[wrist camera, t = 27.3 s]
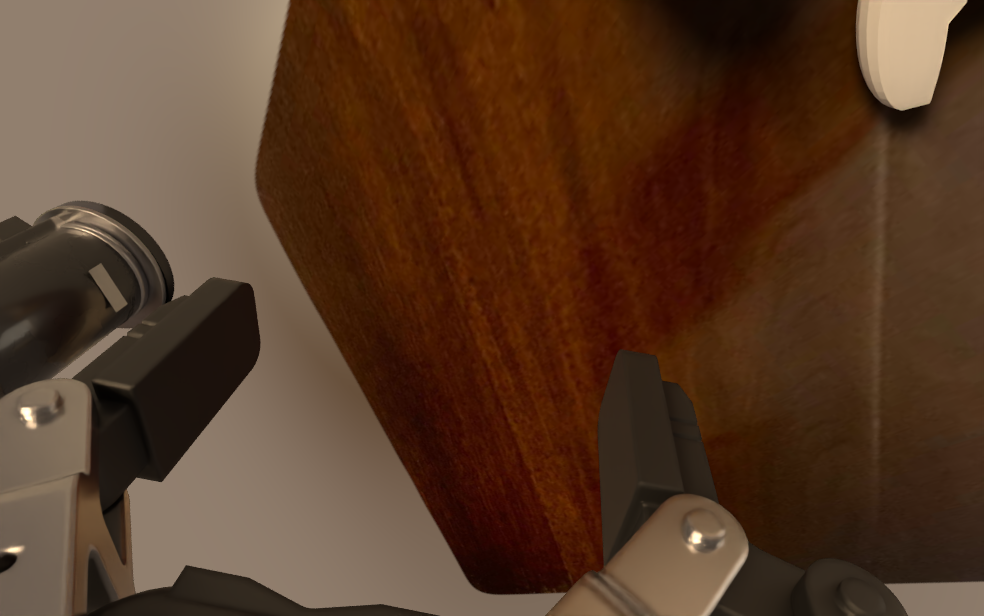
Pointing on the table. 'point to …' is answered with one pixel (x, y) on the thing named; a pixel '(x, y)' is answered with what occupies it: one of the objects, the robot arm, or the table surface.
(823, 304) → the table surface
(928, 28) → the game controller
